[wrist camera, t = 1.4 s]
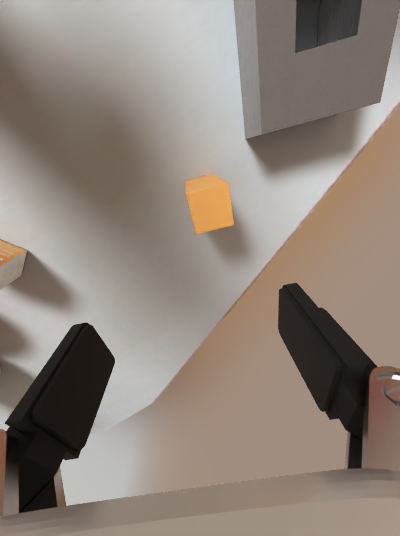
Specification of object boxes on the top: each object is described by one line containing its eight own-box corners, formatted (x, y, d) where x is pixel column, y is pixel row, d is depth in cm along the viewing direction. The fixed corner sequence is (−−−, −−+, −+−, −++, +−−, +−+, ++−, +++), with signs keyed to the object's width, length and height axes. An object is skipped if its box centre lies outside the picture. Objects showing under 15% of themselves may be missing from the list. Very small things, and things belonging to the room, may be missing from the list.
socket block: (227, -77, 17) (246, -182, 11) (366, -124, 16) (454, -259, 11) (245, 138, 25) (261, 134, 20) (338, 113, 24) (380, 102, 19)
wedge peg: (185, 180, 27) (185, 194, 17) (212, 173, 27) (228, 183, 17) (192, 208, 29) (196, 234, 19) (217, 202, 29) (234, 224, 19)
